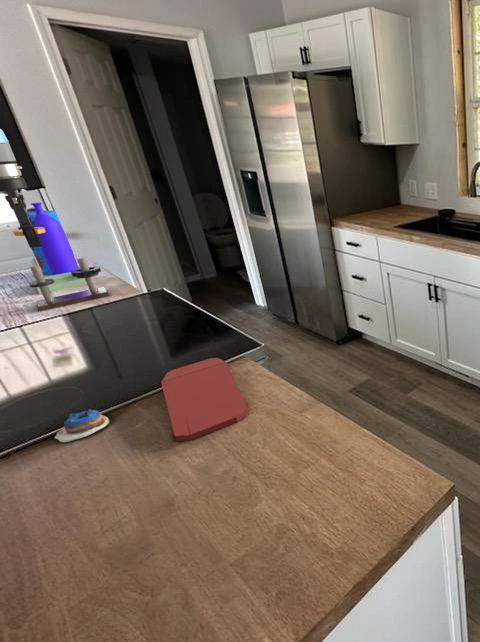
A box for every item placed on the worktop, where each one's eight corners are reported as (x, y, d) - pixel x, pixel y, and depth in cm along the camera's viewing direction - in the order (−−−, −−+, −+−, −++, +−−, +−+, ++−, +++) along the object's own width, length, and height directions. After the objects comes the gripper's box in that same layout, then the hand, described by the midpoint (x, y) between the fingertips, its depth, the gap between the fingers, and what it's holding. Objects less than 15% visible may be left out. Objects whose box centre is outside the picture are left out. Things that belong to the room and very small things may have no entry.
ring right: (66, 277, 141) (64, 273, 140) (84, 270, 147) (82, 266, 147) (89, 276, 141) (87, 272, 141) (106, 269, 148) (104, 265, 148)
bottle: (53, 276, 169) (21, 203, 158) (81, 271, 175) (52, 200, 164) (52, 281, 164) (18, 205, 153) (81, 275, 169) (51, 202, 158)
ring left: (8, 236, 138) (6, 232, 138) (29, 231, 145) (28, 227, 144) (31, 235, 139) (29, 231, 138) (51, 230, 145) (50, 226, 145)
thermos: (36, 274, 171) (9, 215, 162) (67, 266, 181) (43, 210, 172) (55, 276, 169) (28, 216, 160) (85, 268, 178) (62, 211, 169)
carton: (254, 428, 87) (226, 367, 102) (249, 411, 85) (221, 351, 100) (183, 458, 79) (164, 386, 95) (175, 440, 77) (158, 370, 92)
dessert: (121, 413, 85) (94, 404, 80) (105, 446, 82) (76, 439, 77) (85, 415, 86) (56, 406, 81) (67, 448, 82) (36, 441, 77)
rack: (40, 312, 135) (20, 270, 130) (39, 306, 140) (20, 265, 135) (109, 296, 147) (94, 258, 142) (106, 291, 152) (91, 254, 147)
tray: (37, 285, 159) (34, 278, 158) (84, 276, 168) (82, 270, 167) (39, 294, 150) (36, 287, 149) (89, 284, 159) (86, 278, 158)
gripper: (23, 178, 131) (52, 248, 140) (23, 174, 144) (50, 238, 152) (-14, 181, 126) (19, 252, 134) (-11, 176, 138) (19, 242, 147)
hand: (35, 244), depth 143 cm, fingers closed on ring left, 7 cm apart
